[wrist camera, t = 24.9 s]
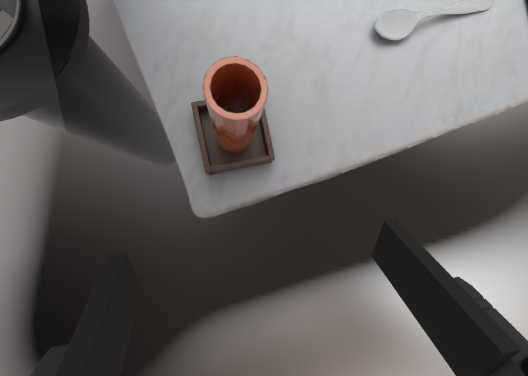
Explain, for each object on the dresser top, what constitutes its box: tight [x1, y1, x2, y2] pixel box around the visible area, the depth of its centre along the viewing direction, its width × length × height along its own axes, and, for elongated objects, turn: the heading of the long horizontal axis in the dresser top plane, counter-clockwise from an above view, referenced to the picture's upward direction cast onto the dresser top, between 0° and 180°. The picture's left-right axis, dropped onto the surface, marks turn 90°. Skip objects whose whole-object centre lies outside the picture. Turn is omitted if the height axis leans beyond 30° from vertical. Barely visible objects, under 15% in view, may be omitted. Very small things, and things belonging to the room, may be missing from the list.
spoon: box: [375, 0, 493, 40], centre depth 35 cm, size 4×21×2 cm, turn 109°
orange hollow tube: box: [203, 56, 268, 154], centre depth 24 cm, size 4×4×14 cm
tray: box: [191, 100, 275, 174], centre depth 30 cm, size 8×8×3 cm
